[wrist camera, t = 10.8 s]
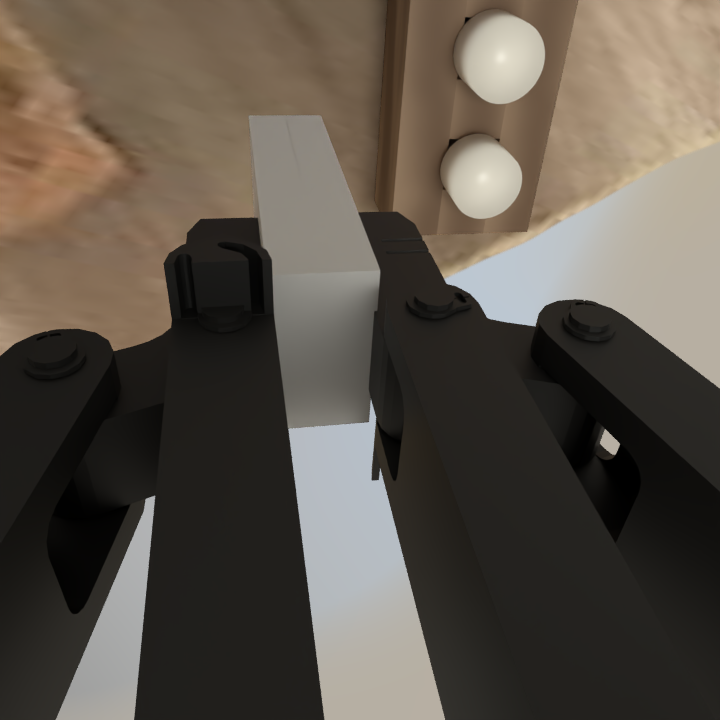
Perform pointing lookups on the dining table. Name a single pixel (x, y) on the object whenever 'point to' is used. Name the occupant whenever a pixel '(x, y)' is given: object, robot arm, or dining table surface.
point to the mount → (458, 110)
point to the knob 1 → (499, 55)
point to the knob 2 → (480, 176)
